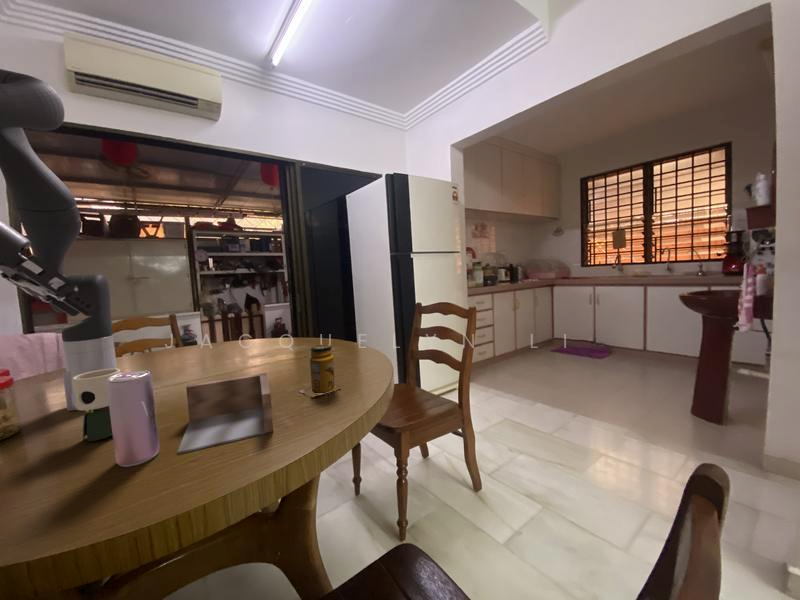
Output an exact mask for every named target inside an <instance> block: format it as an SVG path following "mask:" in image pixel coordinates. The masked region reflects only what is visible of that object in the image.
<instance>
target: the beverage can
mask: <svg viewBox="0 0 800 600" xmlns="http://www.w3.org/2000/svg"><path fill="white" fill-rule="evenodd" d="M150 373H151V372H150V371H149V370H145V369H144V370H133V371H127V372H126V371H125V372H121V374H118V375H115V376H112V377H110V378H108V384H107V393H108V401H109V409H110V417H111V426H112V434H113V435H112V442H113V448H114V449H113V450H114V455H115V462H116V464H117V465H119V466H120V467H124V468H129V467H135V466H139V465H141V464H145V463H147V462H149V461H151V460H152V459H153V458H155V457H156V456H157V454H158V453H159V451H160V448H161V447H160V437H159V431H158V423H157V420H158V419H157V414H156V413H157V412H156V403H155V393H154V385H153V377H152V375H151V374H150Z"/></svg>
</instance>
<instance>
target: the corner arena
mask: <svg viewBox="0 0 800 600" xmlns="http://www.w3.org/2000/svg"><path fill="white" fill-rule="evenodd" d="M269 385H270V384H269V380H268V375H267V372H263V373H257V374H251V375H250V374H249V375H244V376H238V377H231V378H225V379H219V380H212V381H206V382H200V383H194V384H193V383H192V384H188V385H186V387H185V388H186V399H187V407H188V408H187V409H188V410H187V411H188V417H189V418H188V420H189V422H188V423H187V427H186V429H185V432H184V434H183V437H182V440H181V442H180V445H179V447H178V449H177V455H181V454H184V453H188V452H193V451H197V450H203V449H206V448H210V447H215V446H218V445H223V444H227V443H231V442H237V441H241V440H246V439H248V438H249V439H250V438H254V437H258V436H261V435H266V434H271V433H274V424H273V423H274V422H273V410H272V399H271V398H272V397H271V396H272V395H271V389H270V386H269Z"/></svg>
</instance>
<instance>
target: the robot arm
mask: <svg viewBox="0 0 800 600" xmlns="http://www.w3.org/2000/svg"><path fill="white" fill-rule="evenodd" d="M64 120H65V107H64V103H63V102H62V99H61V97H60V95H59V94H58V92H57V91H56V90H55V89H54V88H53V87H52V86H51V85H50V84H48V83H47V82H45V81H43V80H42V79H39V78H37V77H35V76H32V75H29V74H24V73H21V72H15V71H10V70H7V69H2V68H0V171H1V173H2V176H3V178H4V181H5V183H6V185H7V188H8V190H9V194H10V197H11V199H12V203H13V205H14V209H15V211H16V213H17V217H18V219H19V221H20V223H21V225H22V228H23V230H24V232H25V234H26V236H25V235H23V234H22V233H20V232H19V231H17V230H16V229H14V228H13V227H12V226H10V225H9V224H8V223H6V222H5V221H3V220H2V219H0V271H1V272H0V276H1V278H3V279H5V280H6V281H7V282H8V283H9V284H11V285H13V286H15V287H18V288H19V289H21V290H22V291H24V292H25V293H26V294H28V295H30V296H32V297H34V298H35V299H36V300H40V301H42V302H44V303H48V304H49V306H50V307H51V309H53V311H55V312H57V313H65V314H67V315H69V316H70V317H76V316H78V315H79V314H81V315H84V316H85V317H88V318H87V319H85V320H84V321H82V322H80V323H78V324H74V325H71V326H69V327H66V328H64V329H62V331H61V340H62V345H63V355H64V360H65V369H66V371H64V372H63V373H62V379H63V387H64V393H65V395H64V396H65V404H66V410H67V411H68V412H69V411H78V410H77V408H76V407H75V402H76V396H75V393H74V391H73V384H72V378H73V377H75V376H77V375H80V374H83V373H87V372H92V371H97V370H103V369H118V365H117V359H116V357H117V356H116V350H115V348H116V347H115V342H114V333H113V322H112V314H111V311H112V310H111V292H110V287H109V286H110V285H109V282H108V279H107V278H106V277H105V276H104V275H102V274H66V273H65V272H64V269H63V263H64V260H65V257H66V255H67V253H68V251H69V250H70V248H71V247H72V245H73V243H74V242H75V241H76V240H77V238H78V236H79V235H80V233H81V230H82V218H81V215H80V212H79V208H78V205H77V202H76V198H75V197H74V195H73V193H72V192H71V190H70V189H69V188H68V187H67V185H66V184H65V183H64V182H63V181H62V180H61V179H60V178H59V177H58V176H57V175H56V174H55V173H54V172H53V171H52V170H51V169H50V168H49V167H48V166H47V165H46V164H45V163H44V162H43V161H42V160H41V158H40V157H39V156H38V155H37V153H36V152H35V151H34V149H33V148H32V146H31V144H30V142H29V139H28V137H27V136H26V133H25V131H24V129H27V130H33V131H39V132H47V131H48V132H49V131H54V130H56V129H58V128H60V126H62V124H63V123H64ZM29 247H31V250H32V252H33V254H34V255H31V256H30V257H28V258H27V257H26V256H24V255H22V254H21V252H23V251H24V250H25V249H27V248H29Z"/></svg>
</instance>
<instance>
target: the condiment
mask: <svg viewBox="0 0 800 600" xmlns="http://www.w3.org/2000/svg"><path fill="white" fill-rule="evenodd" d="M309 364H310V381H311V383H310V384H311V386H310V387H309V388H306V389H302V390H299V392H300V393H301V394H303V393H304V392H306V391H307V390H308V389H311V388H312V391H313V392H314V393H326V392H329V391H331V390H333V389H334V386H335V385H336V384H335V383H336V382H335V370H334V369H335V368H334V366H335V365H334V356H333V354H332V347H331V345H329V344H317V345H313V346H311V348H310V359H309ZM335 387H336V386H335Z"/></svg>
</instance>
